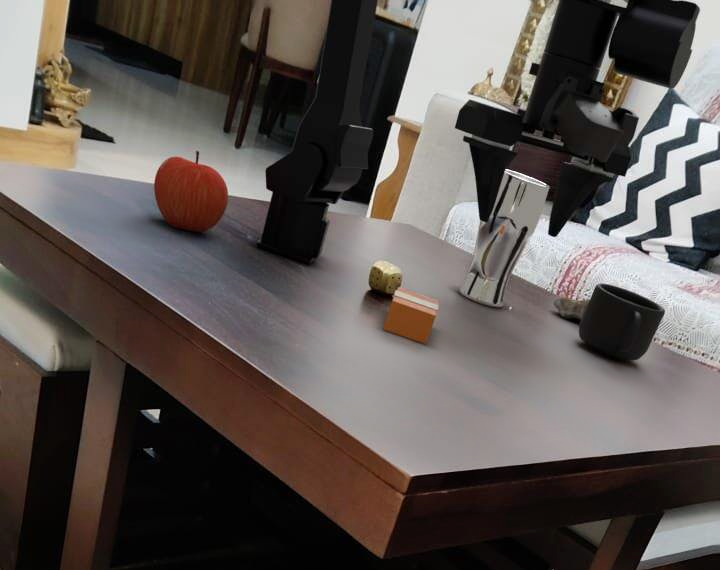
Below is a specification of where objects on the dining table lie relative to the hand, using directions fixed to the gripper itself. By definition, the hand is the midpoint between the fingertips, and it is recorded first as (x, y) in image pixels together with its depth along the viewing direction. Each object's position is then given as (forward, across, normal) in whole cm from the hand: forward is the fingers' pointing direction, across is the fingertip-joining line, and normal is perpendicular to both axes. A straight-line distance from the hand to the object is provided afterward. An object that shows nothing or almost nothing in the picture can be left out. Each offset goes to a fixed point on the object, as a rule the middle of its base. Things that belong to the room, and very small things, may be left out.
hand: (518, 228), depth 103 cm
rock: (+12, +30, +16) cm, 36 cm away
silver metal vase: (+12, +12, +18) cm, 25 cm away
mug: (+13, +22, +3) cm, 26 cm away
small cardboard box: (+12, -10, 0) cm, 16 cm away
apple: (+10, -27, +23) cm, 37 cm away
